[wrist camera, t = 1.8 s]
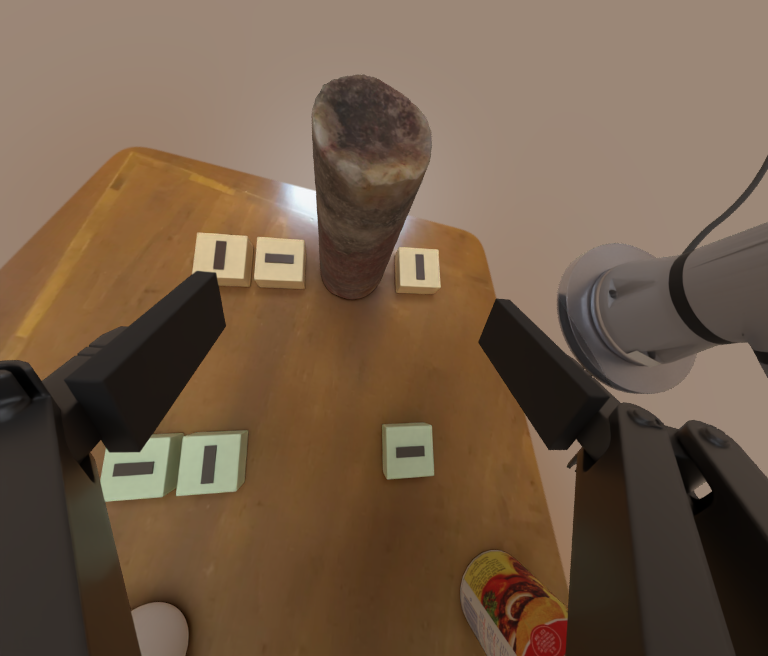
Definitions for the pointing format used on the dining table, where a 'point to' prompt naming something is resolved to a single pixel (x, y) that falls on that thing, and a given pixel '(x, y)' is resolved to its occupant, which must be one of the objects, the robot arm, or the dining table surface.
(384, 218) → the brown rough cylinder
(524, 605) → the canned food
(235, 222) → the dining table surface
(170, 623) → the cup
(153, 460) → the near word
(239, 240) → the far word
